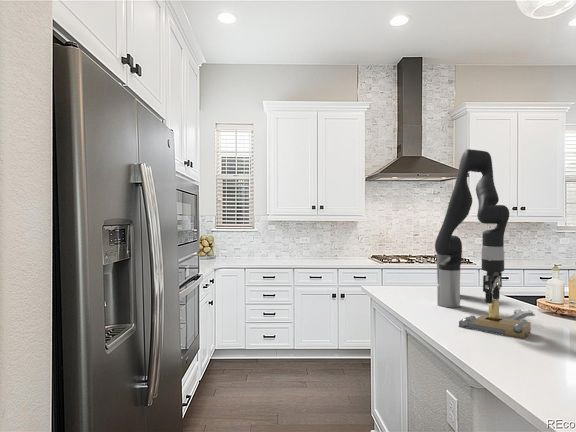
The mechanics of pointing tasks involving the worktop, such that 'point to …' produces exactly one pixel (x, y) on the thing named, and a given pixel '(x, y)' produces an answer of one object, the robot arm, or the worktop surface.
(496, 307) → the pin
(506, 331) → the brass frame with rod
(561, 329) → the worktop surface
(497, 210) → the robot arm
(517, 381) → the worktop surface
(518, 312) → the adjustable wrench
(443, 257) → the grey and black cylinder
